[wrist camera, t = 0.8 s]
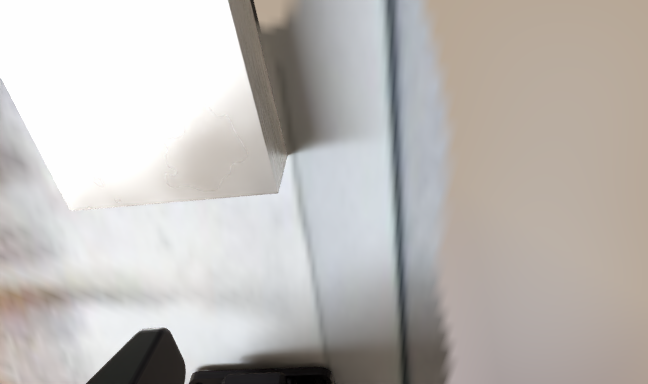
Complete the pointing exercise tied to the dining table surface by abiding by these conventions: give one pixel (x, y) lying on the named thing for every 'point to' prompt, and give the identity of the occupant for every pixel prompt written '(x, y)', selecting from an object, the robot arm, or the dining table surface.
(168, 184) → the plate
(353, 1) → the dining table surface
